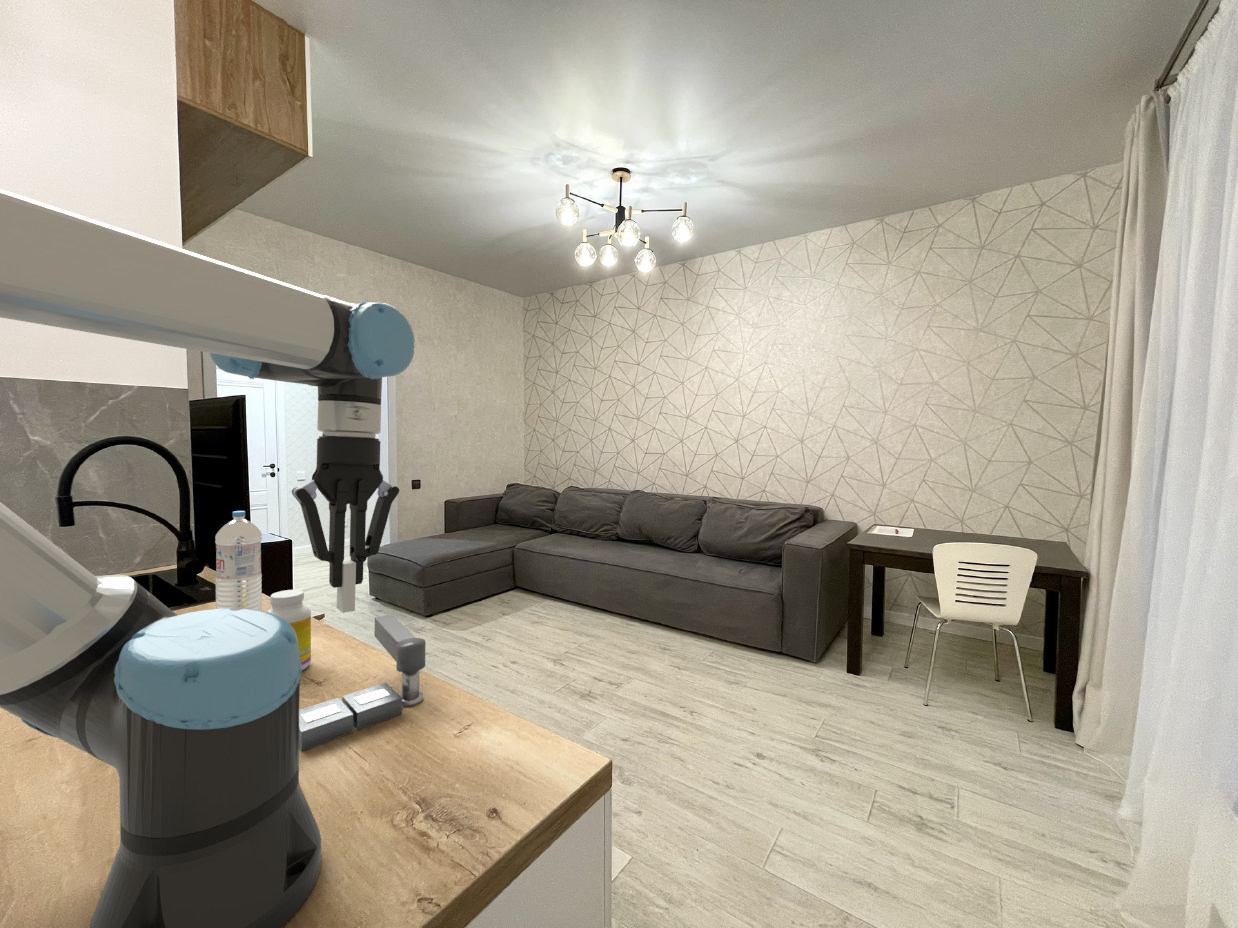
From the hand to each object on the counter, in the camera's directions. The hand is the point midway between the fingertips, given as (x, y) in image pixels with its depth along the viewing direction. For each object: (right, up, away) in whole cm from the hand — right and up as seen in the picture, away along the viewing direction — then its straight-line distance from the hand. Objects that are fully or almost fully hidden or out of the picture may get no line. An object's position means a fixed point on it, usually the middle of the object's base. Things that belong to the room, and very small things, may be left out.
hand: (345, 609), depth 68 cm
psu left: (-3, -16, -1) cm, 16 cm away
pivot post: (+6, -16, +7) cm, 18 cm away
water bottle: (-34, -14, +26) cm, 45 cm away
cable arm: (+2, -10, +12) cm, 16 cm away
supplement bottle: (-19, -15, +17) cm, 29 cm away
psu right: (+2, -16, +3) cm, 16 cm away
